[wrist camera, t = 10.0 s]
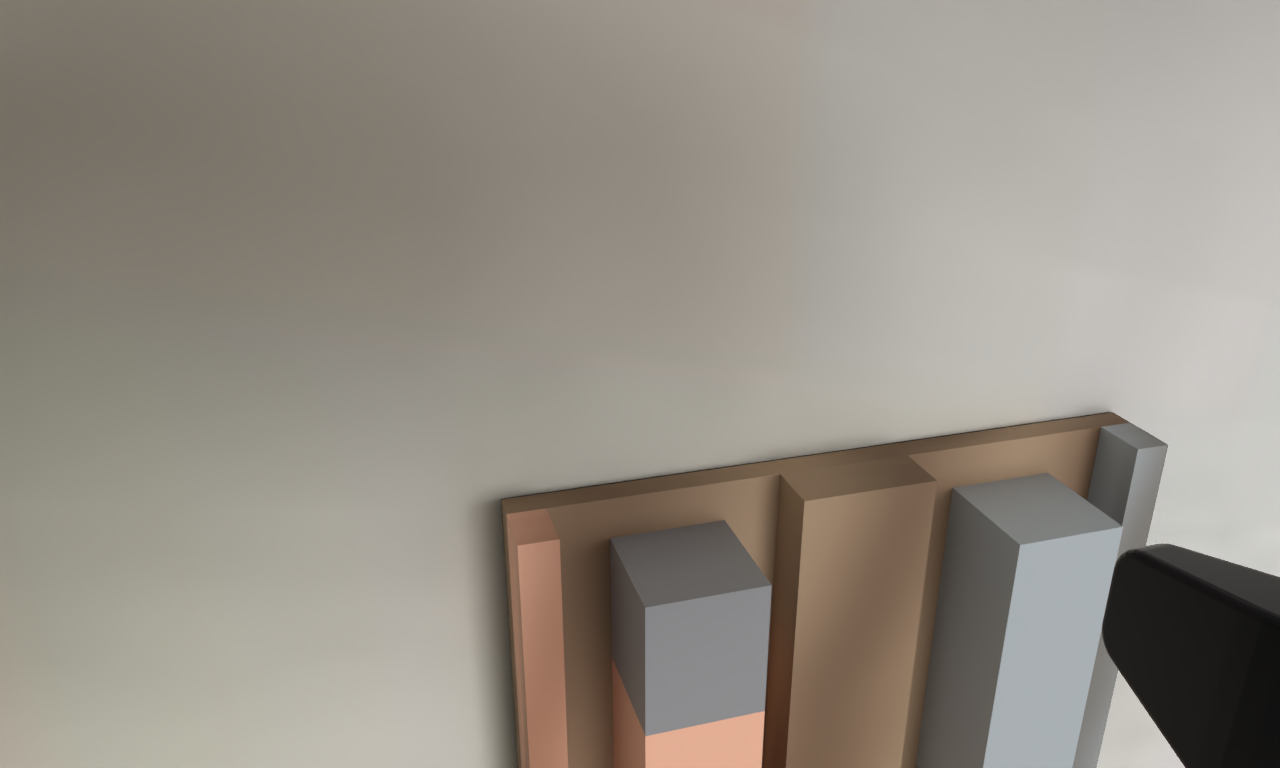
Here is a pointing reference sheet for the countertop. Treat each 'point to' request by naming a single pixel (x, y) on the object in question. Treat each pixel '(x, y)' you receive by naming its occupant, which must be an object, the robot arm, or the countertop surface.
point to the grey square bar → (1016, 625)
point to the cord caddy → (801, 583)
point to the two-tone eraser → (688, 649)
